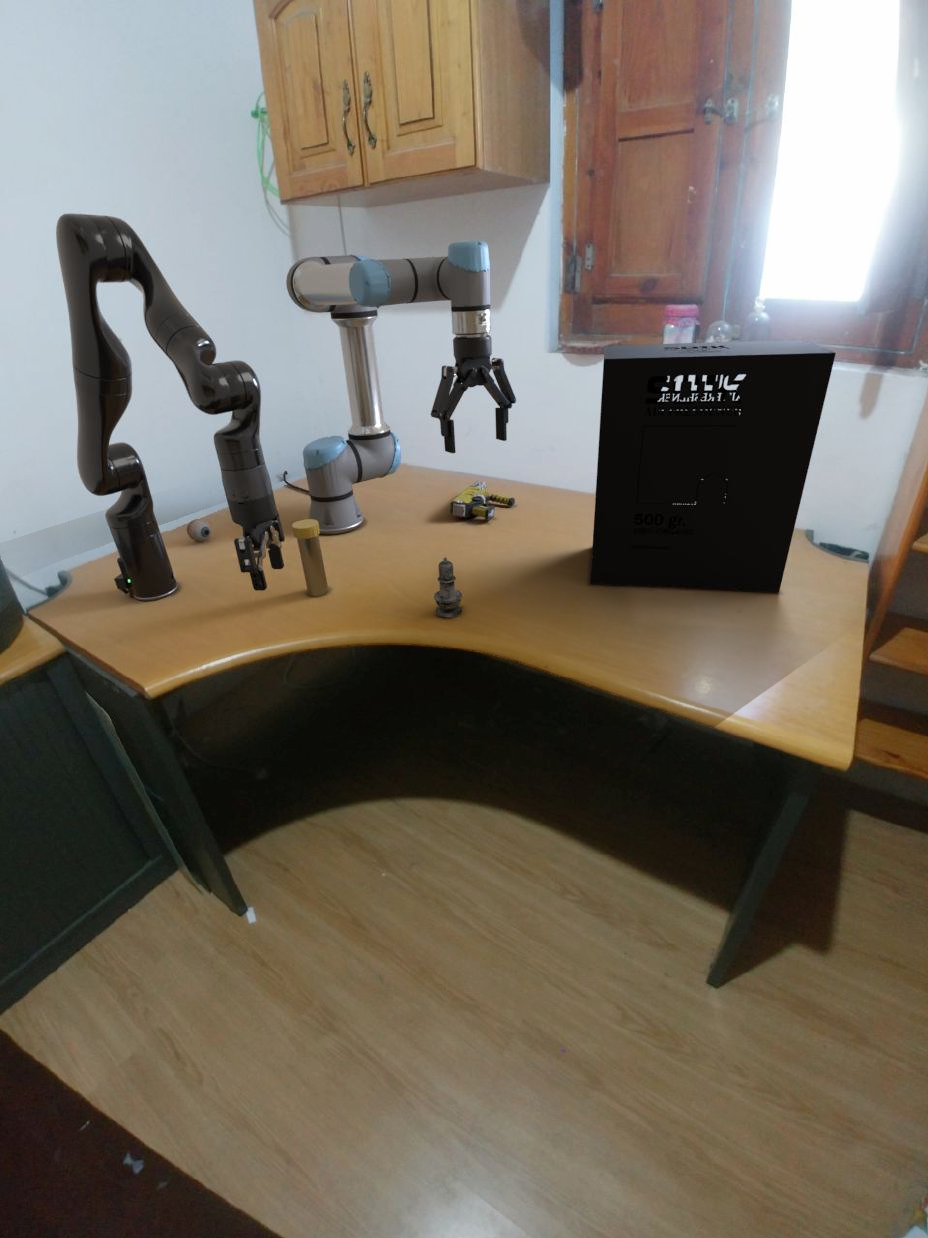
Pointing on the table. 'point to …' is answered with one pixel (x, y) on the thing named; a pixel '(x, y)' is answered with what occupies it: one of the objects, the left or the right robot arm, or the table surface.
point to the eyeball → (199, 530)
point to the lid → (306, 528)
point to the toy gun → (477, 502)
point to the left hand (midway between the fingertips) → (269, 578)
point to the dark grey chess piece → (447, 591)
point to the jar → (313, 566)
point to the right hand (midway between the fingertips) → (476, 445)
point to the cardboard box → (704, 462)
